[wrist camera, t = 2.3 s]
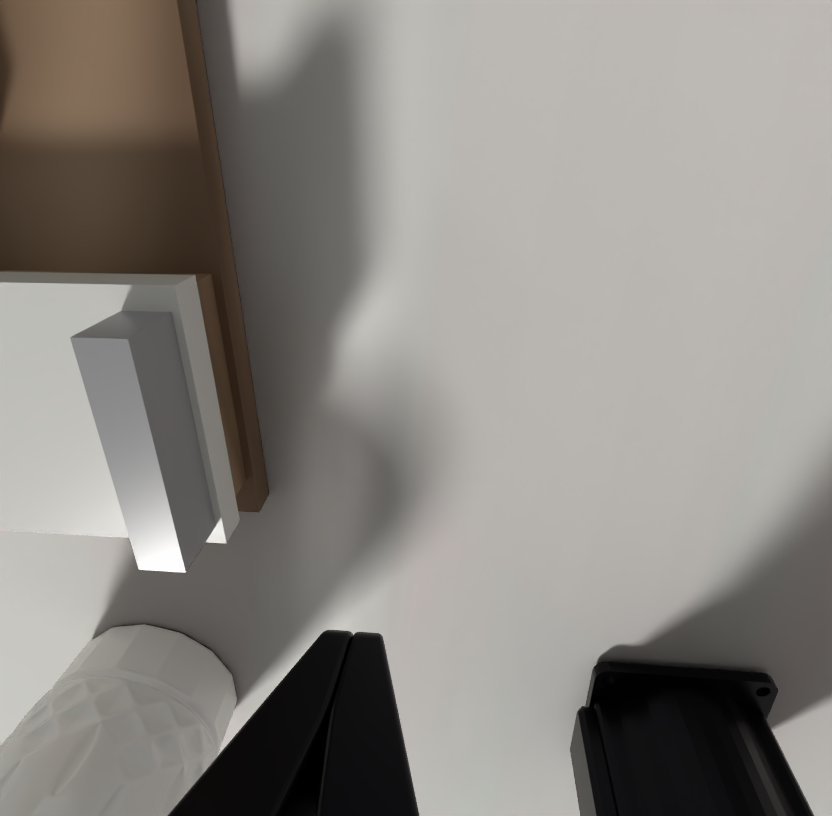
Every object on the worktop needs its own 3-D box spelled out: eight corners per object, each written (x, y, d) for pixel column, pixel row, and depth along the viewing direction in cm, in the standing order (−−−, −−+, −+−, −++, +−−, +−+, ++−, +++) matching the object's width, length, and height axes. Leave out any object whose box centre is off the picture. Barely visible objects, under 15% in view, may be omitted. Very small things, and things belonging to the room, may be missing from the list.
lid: (195, 274, 13) (130, 309, 11) (239, 521, 16) (198, 591, 14) (-87, 270, 14) (-211, 301, 11) (9, 508, 17) (-71, 573, 14)
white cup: (211, 602, 22) (31, 931, 13) (276, 732, 25) (168, 1064, 16) (38, 620, 23) (-233, 928, 14) (121, 740, 26) (-57, 1051, 18)
